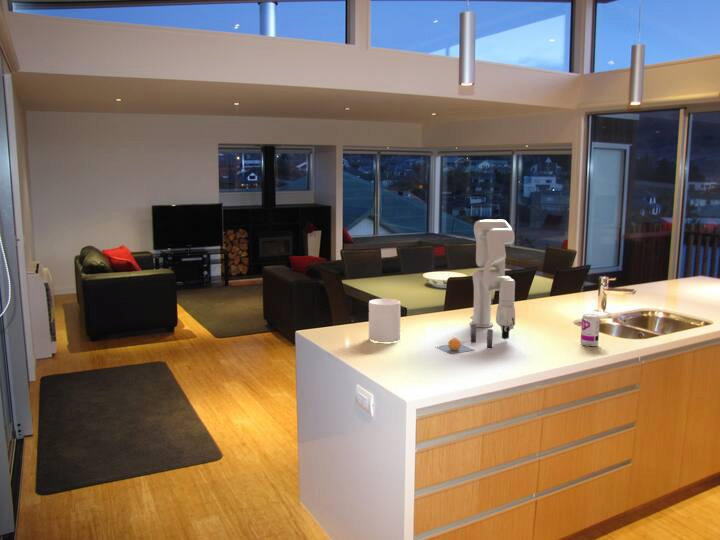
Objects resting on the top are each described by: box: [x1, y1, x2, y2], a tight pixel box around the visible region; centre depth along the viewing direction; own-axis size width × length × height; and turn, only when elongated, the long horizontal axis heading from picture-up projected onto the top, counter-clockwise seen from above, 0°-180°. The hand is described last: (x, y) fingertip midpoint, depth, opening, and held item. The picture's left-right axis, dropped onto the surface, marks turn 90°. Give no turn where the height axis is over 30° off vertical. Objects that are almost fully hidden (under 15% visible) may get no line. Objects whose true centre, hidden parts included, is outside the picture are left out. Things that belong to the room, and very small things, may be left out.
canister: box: [368, 298, 402, 342], centre depth 320 cm, size 16×16×20 cm
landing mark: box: [436, 343, 475, 355], centre depth 306 cm, size 14×14×1 cm
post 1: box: [470, 324, 477, 343], centre depth 318 cm, size 3×3×9 cm
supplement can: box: [580, 313, 601, 347], centre depth 312 cm, size 8×8×15 cm
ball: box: [447, 337, 462, 351], centre depth 302 cm, size 6×6×6 cm
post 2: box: [486, 328, 494, 349], centre depth 306 cm, size 3×3×9 cm
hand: (505, 338), depth 319 cm, fingers closed
